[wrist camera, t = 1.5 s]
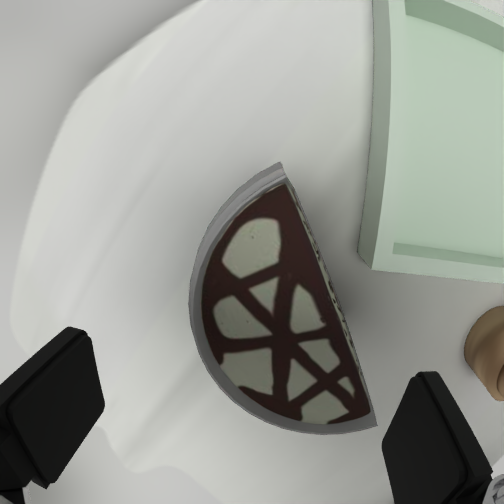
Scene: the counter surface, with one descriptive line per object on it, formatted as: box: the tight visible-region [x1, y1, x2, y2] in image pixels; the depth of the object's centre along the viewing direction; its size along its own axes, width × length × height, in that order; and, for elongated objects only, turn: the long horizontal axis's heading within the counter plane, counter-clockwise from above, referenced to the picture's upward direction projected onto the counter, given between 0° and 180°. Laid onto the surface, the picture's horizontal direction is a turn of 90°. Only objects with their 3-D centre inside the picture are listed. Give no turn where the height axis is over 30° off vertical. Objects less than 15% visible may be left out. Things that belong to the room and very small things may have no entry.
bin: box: [357, 0, 504, 284], centre depth 15 cm, size 18×18×4 cm
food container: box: [189, 162, 378, 435], centre depth 16 cm, size 12×6×10 cm, turn 24°
